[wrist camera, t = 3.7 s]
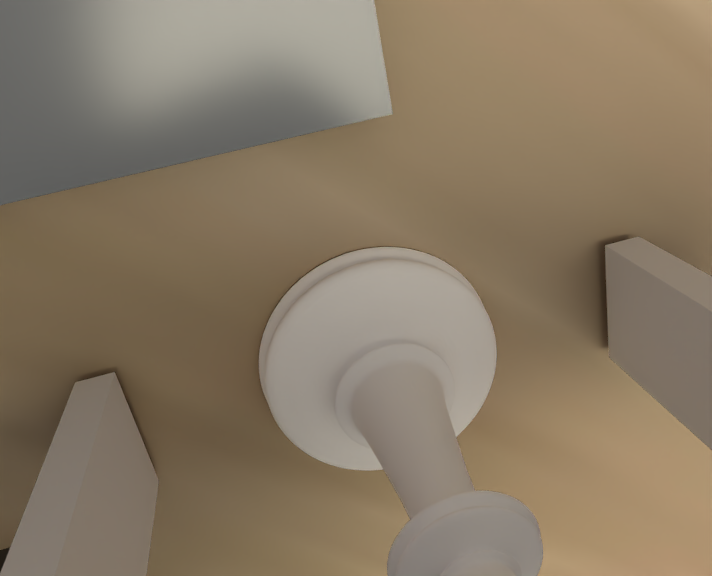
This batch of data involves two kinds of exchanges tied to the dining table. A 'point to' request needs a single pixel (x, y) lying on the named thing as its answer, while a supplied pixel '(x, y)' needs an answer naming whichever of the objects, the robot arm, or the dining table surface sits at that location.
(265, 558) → the dining table surface
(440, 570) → the chess piece
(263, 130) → the coaster
